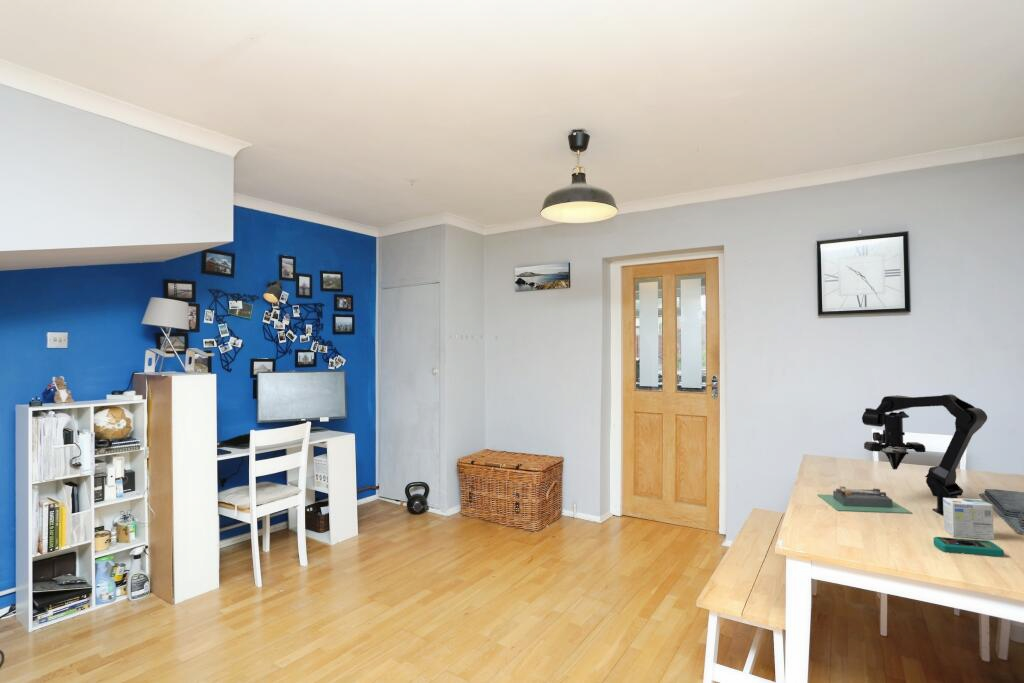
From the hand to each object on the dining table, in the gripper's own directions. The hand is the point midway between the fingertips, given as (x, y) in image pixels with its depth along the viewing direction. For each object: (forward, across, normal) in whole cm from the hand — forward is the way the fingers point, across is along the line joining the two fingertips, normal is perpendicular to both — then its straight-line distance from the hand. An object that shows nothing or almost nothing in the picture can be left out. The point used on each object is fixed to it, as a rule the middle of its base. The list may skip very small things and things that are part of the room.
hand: (894, 469), depth 203 cm
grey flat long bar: (+8, +15, +6) cm, 18 cm away
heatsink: (+12, +14, +6) cm, 19 cm away
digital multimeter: (+13, +4, +50) cm, 51 cm away
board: (+12, +14, +6) cm, 19 cm away
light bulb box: (+12, -4, +36) cm, 38 cm away
